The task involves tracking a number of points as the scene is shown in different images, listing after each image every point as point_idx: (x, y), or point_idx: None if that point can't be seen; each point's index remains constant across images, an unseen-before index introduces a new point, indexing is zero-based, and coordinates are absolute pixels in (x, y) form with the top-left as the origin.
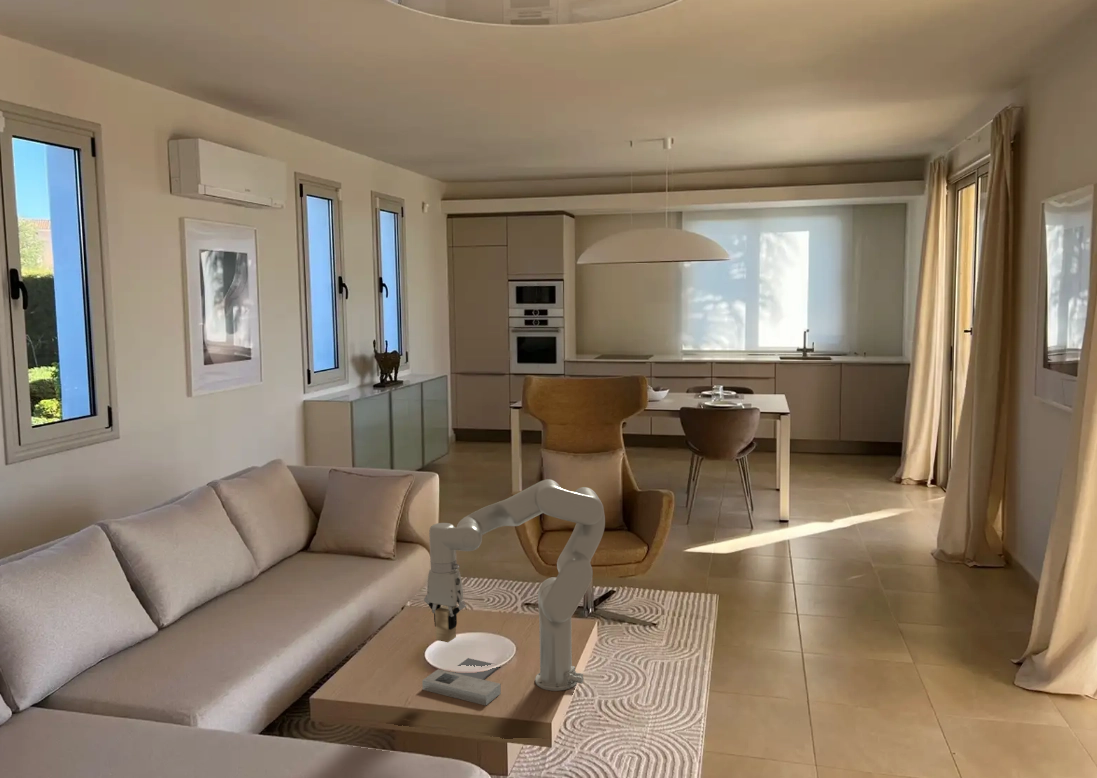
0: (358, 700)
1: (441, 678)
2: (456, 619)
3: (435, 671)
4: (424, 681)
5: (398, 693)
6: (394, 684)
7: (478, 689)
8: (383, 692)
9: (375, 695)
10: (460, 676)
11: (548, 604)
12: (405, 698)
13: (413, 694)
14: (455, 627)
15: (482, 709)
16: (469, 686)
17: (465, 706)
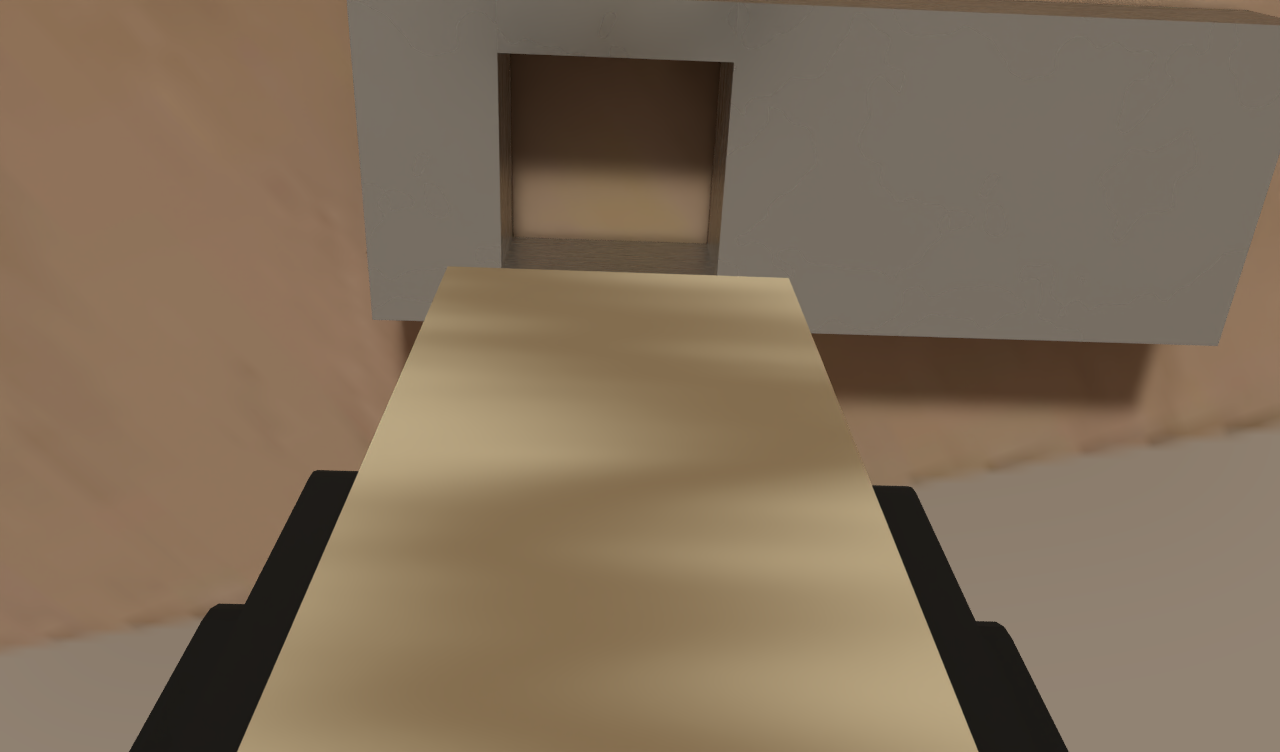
0: (25, 626)
1: (503, 118)
2: (1058, 745)
3: (361, 62)
4: (404, 315)
5: (227, 410)
6: (40, 277)
7: (1091, 261)
8: (88, 447)
9: (73, 514)
10: (741, 53)
11: None
12: (356, 458)
13: (369, 372)
14: (832, 400)
15: (1140, 359)
16: (963, 241)
17: (962, 372)
